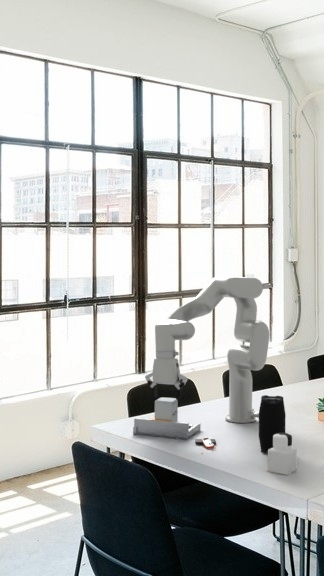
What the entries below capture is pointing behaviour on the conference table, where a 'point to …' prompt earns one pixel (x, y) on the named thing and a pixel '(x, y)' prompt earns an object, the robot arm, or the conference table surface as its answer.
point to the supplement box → (166, 409)
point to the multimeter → (206, 442)
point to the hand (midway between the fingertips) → (166, 398)
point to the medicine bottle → (282, 455)
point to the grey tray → (164, 428)
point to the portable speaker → (270, 420)
